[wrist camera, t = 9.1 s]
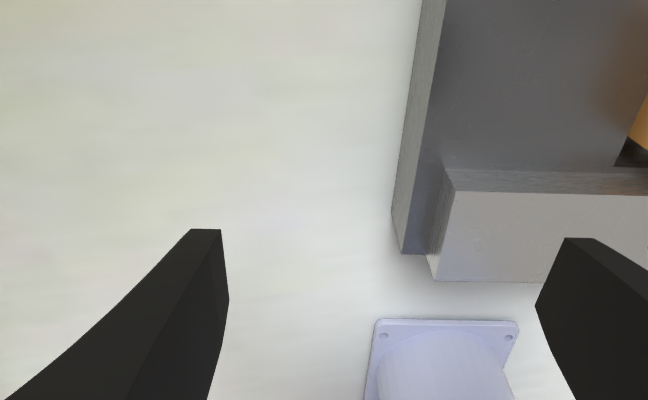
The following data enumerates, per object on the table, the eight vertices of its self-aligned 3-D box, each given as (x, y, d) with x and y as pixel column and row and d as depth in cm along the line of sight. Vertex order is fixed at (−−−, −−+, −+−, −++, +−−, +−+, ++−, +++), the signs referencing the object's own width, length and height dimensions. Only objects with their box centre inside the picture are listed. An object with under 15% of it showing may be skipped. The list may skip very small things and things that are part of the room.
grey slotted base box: (685, 219, 20) (768, 287, 17) (391, 211, 20) (407, 280, 16) (983, -264, 12) (1305, -353, 8) (467, -295, 11) (542, -403, 7)
